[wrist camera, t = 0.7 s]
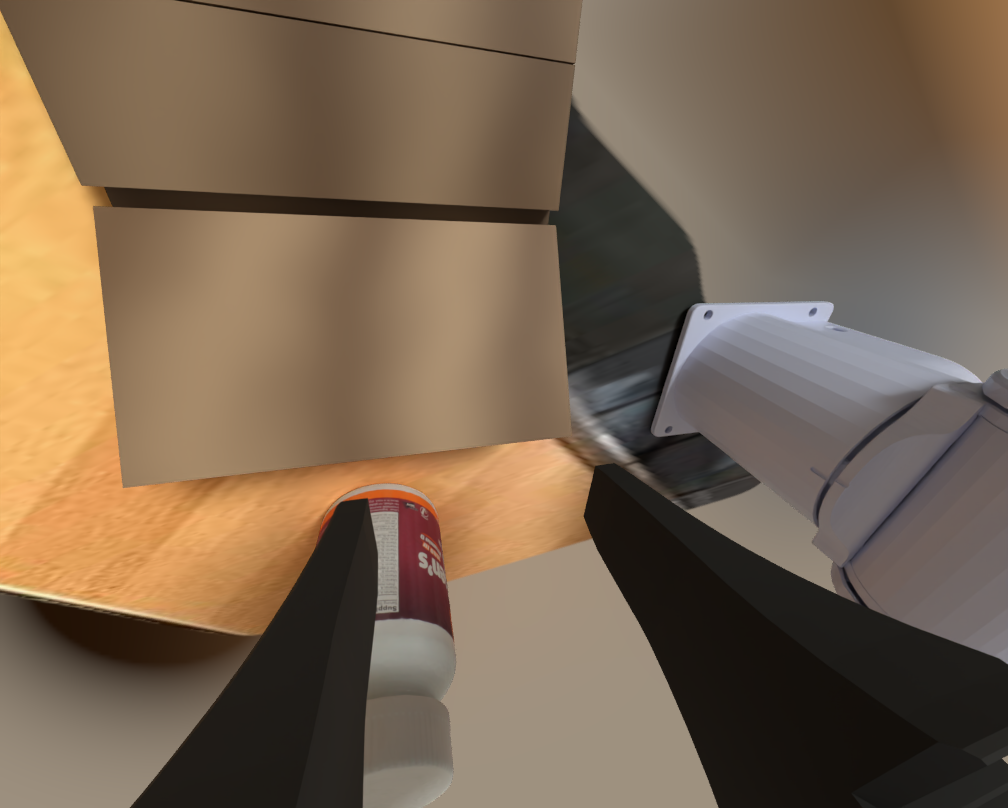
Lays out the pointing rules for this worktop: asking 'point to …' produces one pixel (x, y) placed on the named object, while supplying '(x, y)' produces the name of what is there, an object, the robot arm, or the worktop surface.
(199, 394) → the plank
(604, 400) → the worktop surface
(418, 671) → the pill bottle
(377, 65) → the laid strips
